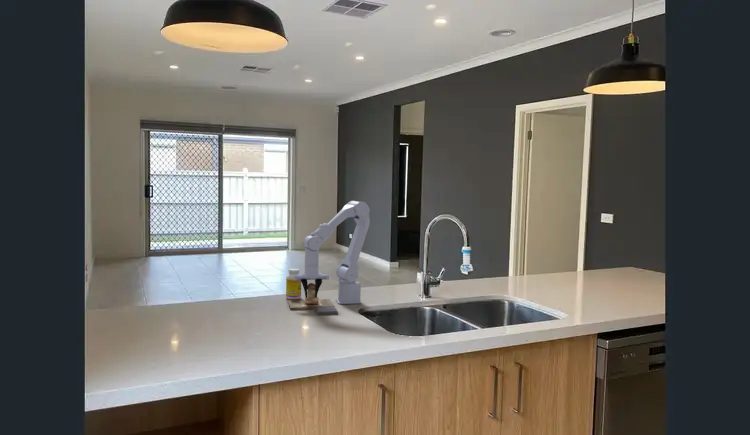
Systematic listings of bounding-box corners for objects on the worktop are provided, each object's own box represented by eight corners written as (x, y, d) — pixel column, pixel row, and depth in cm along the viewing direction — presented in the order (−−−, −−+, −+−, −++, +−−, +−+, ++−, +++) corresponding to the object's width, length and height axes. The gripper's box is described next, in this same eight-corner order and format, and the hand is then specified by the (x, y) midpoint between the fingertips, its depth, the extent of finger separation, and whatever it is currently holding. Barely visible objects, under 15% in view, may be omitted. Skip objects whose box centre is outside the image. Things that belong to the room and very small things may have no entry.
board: (329, 301, 232) (329, 298, 232) (334, 308, 220) (334, 306, 220) (287, 302, 228) (288, 299, 228) (290, 310, 216) (290, 307, 216)
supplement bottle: (299, 300, 233) (300, 270, 232) (284, 299, 233) (285, 270, 232) (302, 296, 240) (302, 268, 239) (287, 296, 240) (287, 267, 239)
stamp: (316, 302, 226) (316, 282, 226) (318, 303, 221) (318, 283, 221) (304, 302, 224) (304, 282, 225) (306, 304, 220) (306, 283, 220)
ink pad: (334, 309, 219) (334, 306, 219) (338, 314, 211) (338, 311, 211) (315, 310, 217) (315, 307, 217) (317, 315, 209) (317, 312, 209)
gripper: (294, 266, 217) (294, 299, 218) (330, 266, 220) (329, 298, 221) (293, 263, 224) (292, 295, 225) (327, 263, 227) (327, 294, 228)
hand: (310, 296), depth 224 cm, fingers closed on stamp, 3 cm apart
